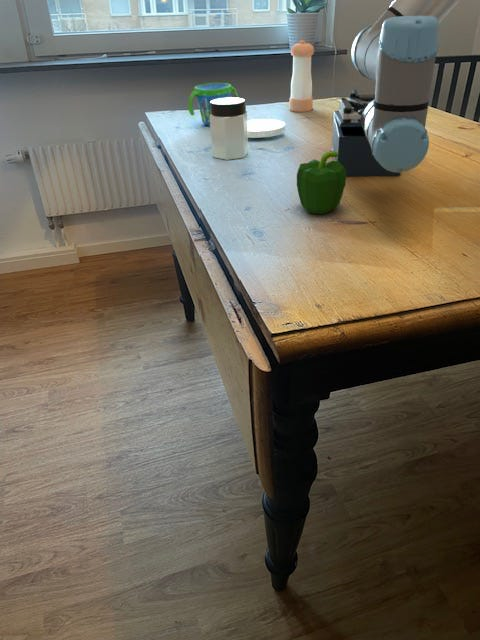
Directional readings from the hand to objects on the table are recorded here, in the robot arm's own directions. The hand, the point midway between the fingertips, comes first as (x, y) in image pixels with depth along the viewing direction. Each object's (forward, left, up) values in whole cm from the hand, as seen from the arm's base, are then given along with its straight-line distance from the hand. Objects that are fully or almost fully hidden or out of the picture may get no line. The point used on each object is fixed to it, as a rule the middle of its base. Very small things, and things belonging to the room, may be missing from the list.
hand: (370, 96), depth 102 cm
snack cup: (+55, +13, -14) cm, 58 cm away
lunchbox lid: (+1, -1, -5) cm, 5 cm away
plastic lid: (+36, +8, -14) cm, 39 cm away
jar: (+23, +22, -14) cm, 35 cm away
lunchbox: (+2, -1, -14) cm, 14 cm away
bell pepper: (-17, +22, -14) cm, 31 cm away
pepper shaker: (+57, -17, -14) cm, 61 cm away
